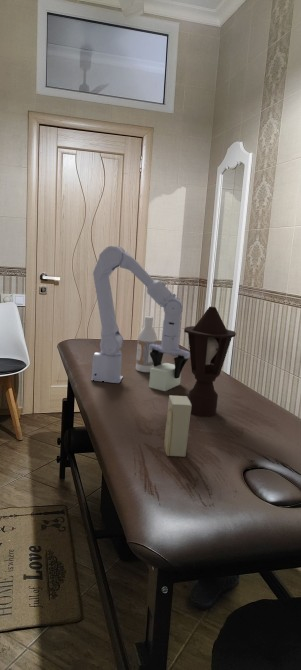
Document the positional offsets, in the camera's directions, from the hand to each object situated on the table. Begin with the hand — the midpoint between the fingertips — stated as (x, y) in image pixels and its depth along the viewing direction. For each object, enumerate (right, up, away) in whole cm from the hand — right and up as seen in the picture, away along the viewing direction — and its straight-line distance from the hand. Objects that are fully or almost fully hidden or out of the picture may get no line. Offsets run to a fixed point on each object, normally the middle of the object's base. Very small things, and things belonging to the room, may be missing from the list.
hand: (167, 375), depth 156 cm
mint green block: (-1, -4, 0) cm, 4 cm away
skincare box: (0, -13, -50) cm, 51 cm away
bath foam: (-8, 0, +18) cm, 20 cm away
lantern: (+9, -9, -22) cm, 25 cm away
